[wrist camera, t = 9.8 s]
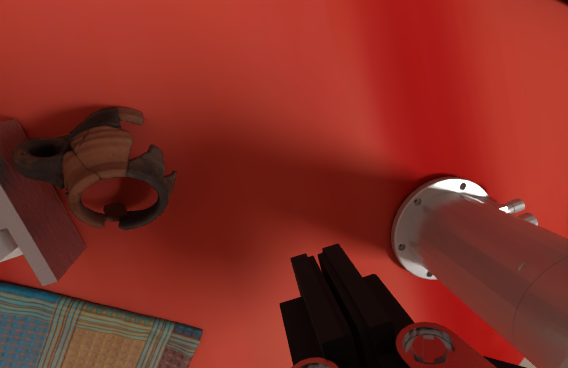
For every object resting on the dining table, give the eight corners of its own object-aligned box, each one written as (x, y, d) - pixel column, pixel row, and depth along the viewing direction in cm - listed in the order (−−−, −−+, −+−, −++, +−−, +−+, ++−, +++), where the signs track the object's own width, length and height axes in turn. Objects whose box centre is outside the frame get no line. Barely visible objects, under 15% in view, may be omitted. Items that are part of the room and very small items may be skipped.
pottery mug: (176, 105, 31) (185, 162, 26) (165, 179, 37) (171, 238, 32) (16, 85, 26) (-14, 151, 21) (32, 174, 32) (12, 244, 26)
